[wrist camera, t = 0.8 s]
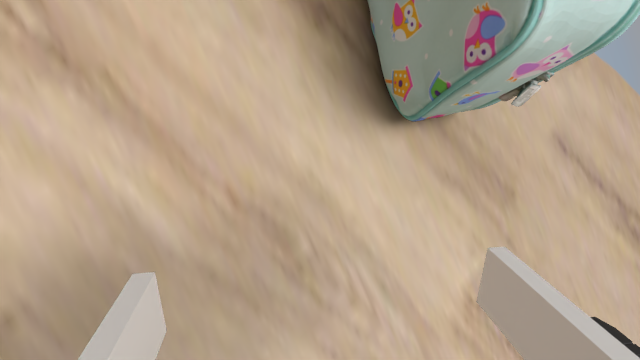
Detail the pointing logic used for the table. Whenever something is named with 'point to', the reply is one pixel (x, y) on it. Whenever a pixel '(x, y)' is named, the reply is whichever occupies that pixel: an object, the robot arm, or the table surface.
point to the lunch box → (485, 47)
